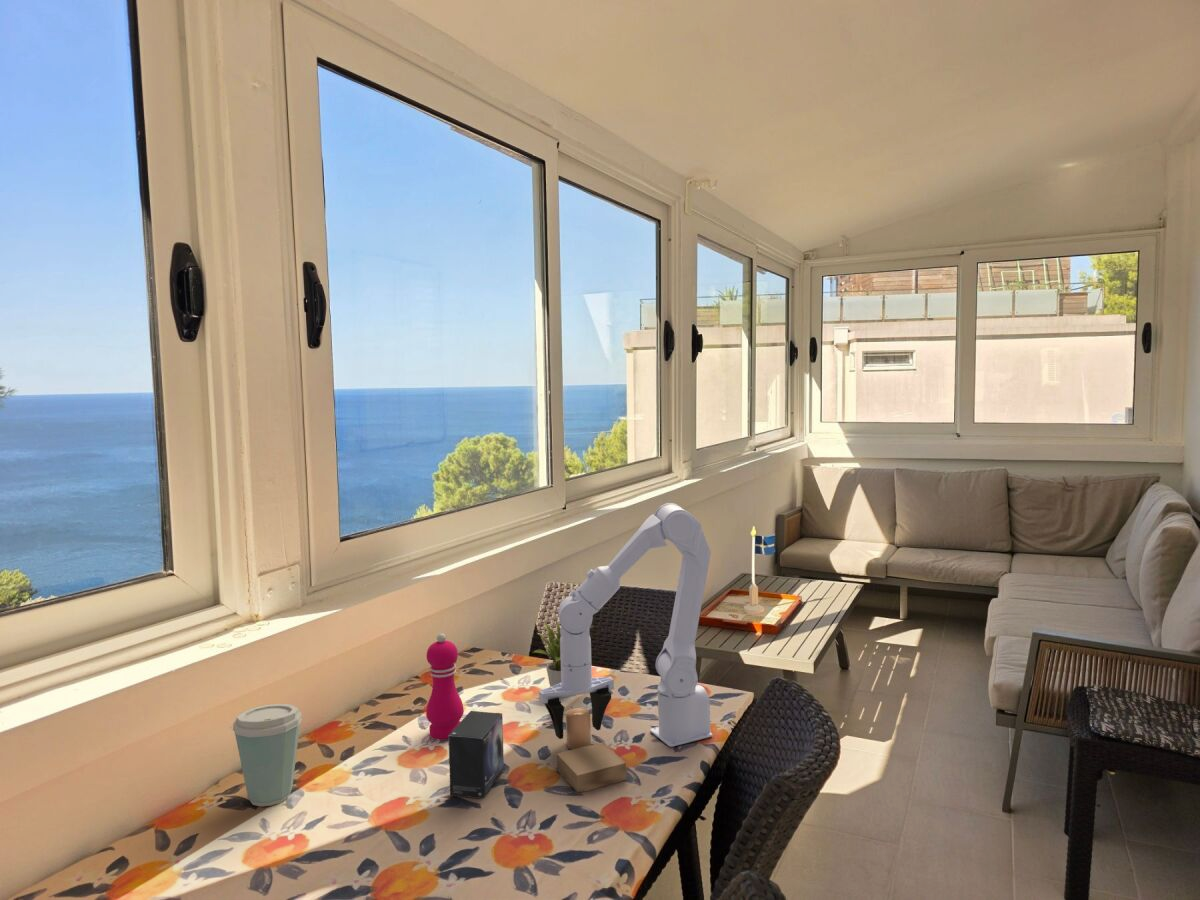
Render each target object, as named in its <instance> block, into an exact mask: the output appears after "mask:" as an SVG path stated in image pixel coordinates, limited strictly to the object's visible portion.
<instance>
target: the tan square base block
mask: <svg viewBox="0 0 1200 900" xmlns="http://www.w3.org/2000/svg"><path fill="white" fill-rule="evenodd" d="M626 766H627V763H626V762H625V761H624V759H622V758H621V757H620V756H619V755H618V754H617V753H616V752H614V751H613V750H612V749H611V748H610V747H609V746H608V745H606V743H604V742H598V743H593V744H591V745H589V746H585V747H581V748H577V749H570V750H565V751H561V752H557V753H556V770H557V771H558V773H559V774H560V775H561V776H562V777H563V779H565V781H566V782H567V783H568V784H569V785H570V786H571V787H572V788H573V789H574V791H575V792H577V793H578V794H579V793H583V792H586V791H590V790H595V789H597V788H601V787H606V786H608V785H613V784H617V783H620V782H624V781H627V767H626Z"/></svg>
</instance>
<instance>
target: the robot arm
mask: <svg viewBox="0 0 1200 900" xmlns="http://www.w3.org/2000/svg"><path fill="white" fill-rule="evenodd" d="M645 519H646V520H644V522H643V523H642V525H640V527H639V528H638V529H637V531H635V533H633V535H632V536H631V537H630V538H629V540H628V541H627V542H626V544H624V546H623V547H622V548H621V549H620V551H618V553H617V554H616V555H615V556H614V557H613V559H612V560H611V561H609V563H608V565H602V566H596V568H595V569H592V568H590V569H589V570H588V571H587V573H586V575H587V577H586V578H585V579H584V581H583V582H582V583H581V584H580V585H579V586H578V587H577V588H576V589H575V590H574V589H572V590H571V591H570V593H569V595H570V596H566V598H565V597H564V599H562V601H561V602H560V604H559V606H558V609H557V615H558V616H557V617H558V618H559V621H560V623H561V624H560V634H561V637H560V655H561V683H559V684H557V685H554V686H551V687H550V686H549V687H546V688H543V689H539V690H538V700H539V702H540V703H542V704H543V705H544V706H545V708H546V710H547V712H548V714H549V717H550V719H551V722H552V725H553V728H554V733H555V736H556V738H557V739H559V740H562V739H564V712H565V706H564V705H563V704H562V700H561V699H566V698H570V697H576V696H579V695H580V696H582V695H585V694H589V697H590V703H591V723H592V724H591V725H592V727H593V728H594V729H595V730H596V731H601V728H602V724H603V723H602V722H603V718H604V715H605V712H606V709H607V708H608V705H609V703H610V702H611V700H612V693H611V692H610V690H611V691H612V690H614V689H615V684H614V683H615V682H614V680H615V679H614V678H612V677H611V676H601V677H593V673H592V671H593V670H592V641H591V635H590V628H589V627H591V626H592V623H593V619H594V618H593V616H594V615H595V614H597V613H598V612H599V611H600V610H601V609H602V608H603V607H604V605H606V603H607V602H608V601H609V600H610V599H611V598H612V597H613V596H614V595H615V594H616V593H617V591H619V590H620V588H621V578H622V577H623V576H624V575H625V574H626V573H627V571H629V570H630V568H632V567H633V566H635V564H636V563H637V562H638V561H639V560H640V559H641V558H643V556H644V555H645V554H646V553H647V552H648V551H649V550H650V549H655V548H660V547H666V546H668V543H666V541H665V540H668V541H669V542H670V543H672V544H673V546H675V548H676V549H677V551H678V552H680V555H681V556H682V558H681V559H682V560H681V564H680V570H679V575H678V580H677V582H678V583H677V586H676V593H675V598H674V604H673V610H672V613H671V615H672V616H671V620H670V625H669V630H668V631H669V632H668V636H667V637H666V639H665V640H664V642H663V646H662V649H661V651H660V652H659V654H658V655H657V657H656V660H655V670H656V672H657V674H658V675H659V676H660V678H661V679H660V681H659V684H658V685H657V713H658V714H657V715H658V716H657V717H658V726H656V727H651V728H650V729H649V731H650V733H652V734H653V735H654V736H655V737H657V738H658V739H660V740H661V741H662V743H664V744H666V745H667V746H668V747H671V748H673V747H675V746H680V745H684V744H688V743H692V742H696V741H700V740H703V739H708V738H711V737H713V733H712V732H711V703H710V698H709V695H708V692H707V690H706V689H705V688H704V686H703V685H701V684H698V680H699V677H698V673H697V670H696V669H697V668H696V666H697V665H696V664H697V654H696V652H697V651H696V646H695V645H696V644H695V643H696V638H697V633H698V632H697V631H698V627H699V621H700V615H701V610H702V605H703V600H704V593H705V588H706V582H707V577H708V571H709V567H710V561H711V554H712V553H711V549H710V546H709V544H708V541H707V538H706V536H705V534H704V531H703V528H702V524H701V523H700V521H699V520H698V519H697V518H696V517H695V516H694V515H693V514H692V513H691V512H689V511H687V510H685V509H683V507H682V506H680V505H678V504H676V503H675V502H674V503H673V502H667V503H664V504H662V505H660V506H659V507H658V508H657V509H656V510H655V513H653V514H651V515H650V516H649V517H647V518H645Z"/></svg>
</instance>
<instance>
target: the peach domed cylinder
mask: <svg viewBox="0 0 1200 900" xmlns="http://www.w3.org/2000/svg"><path fill="white" fill-rule="evenodd" d="M591 725H592V724H591V711H590V710H589V709H587V708H583V707H575V708H571V709H569V710H567V711H565V731H566V732H565V734H566V737H565V738H566V739H565V740H566V747H568V748H569V749H570V750H573V749H577V748H581V747H585V746H589V745H592V734H591V733H592V731H591Z"/></svg>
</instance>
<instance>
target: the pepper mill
mask: <svg viewBox="0 0 1200 900" xmlns="http://www.w3.org/2000/svg"><path fill="white" fill-rule="evenodd" d="M436 640H437V641H434V642H433V643H432V644H430V645H429V647H428V648H427V650H426V661H427V662H428V664H429V665H430V667H429V670H430V671H429V674H430V675H429V676H431V678H432V689H431V693H430V696H429V699H428V701H427V705H426V709H425V710H426V711H425V712H426V714H425V716H426V719H427V721H428V722H429V723H431V724H429V728H428V729H429V736H430V738H432V739H434V740H436V739H439V740H438V741H445V739H448V740H449V738H448V735H449V734H450V733H451V732H452V731H453V730H454V729H455V728H456V726H457V725H458V724H459V723H460V722H461V721H462V720H461V719H462V718H463V715H464V711H465V710H464V703H463V702H462V701H463V700H462V698H461V696H460V695H459V692H458V690H457V687H456V684H455V674H456V673H457V669H456V667H457V665H456V661H457V659H458V657H459V651H458V648H457V646H456V644H455V643H453V642H451V641H450V640H447V637H446V634H444V633H439V634H437V636H436Z"/></svg>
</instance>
